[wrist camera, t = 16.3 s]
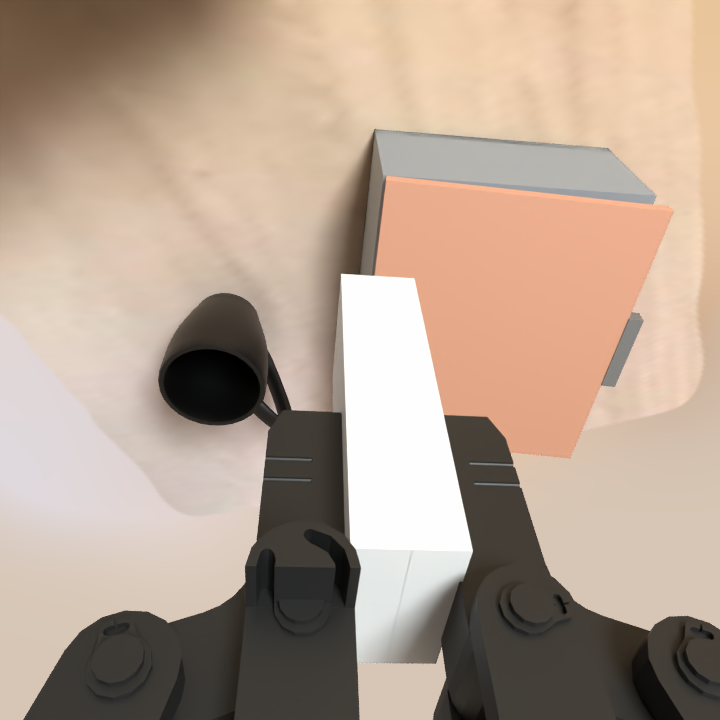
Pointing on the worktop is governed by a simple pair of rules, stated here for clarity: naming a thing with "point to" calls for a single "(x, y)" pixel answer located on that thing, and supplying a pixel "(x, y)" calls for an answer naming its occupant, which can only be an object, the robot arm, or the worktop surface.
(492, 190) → the lid
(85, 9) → the worktop surface
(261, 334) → the mug
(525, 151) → the box
